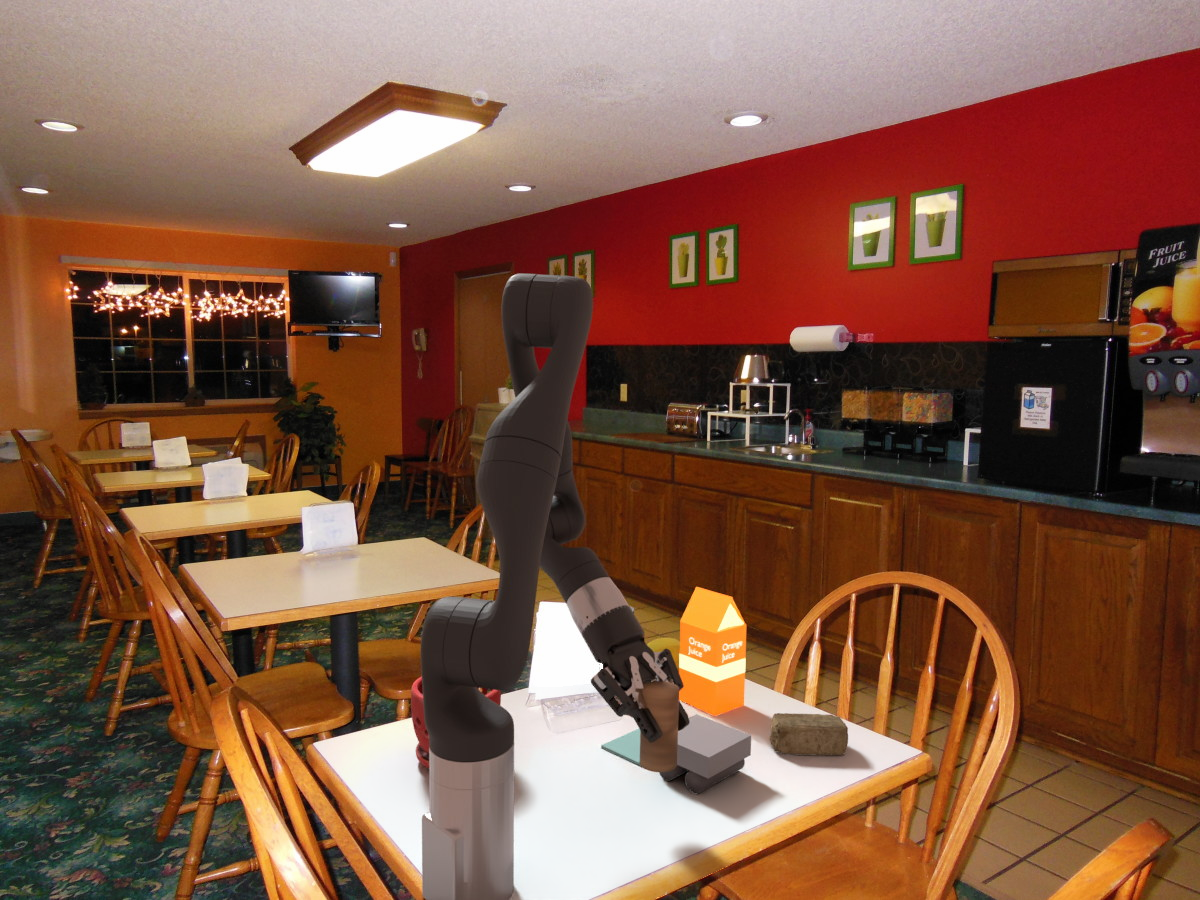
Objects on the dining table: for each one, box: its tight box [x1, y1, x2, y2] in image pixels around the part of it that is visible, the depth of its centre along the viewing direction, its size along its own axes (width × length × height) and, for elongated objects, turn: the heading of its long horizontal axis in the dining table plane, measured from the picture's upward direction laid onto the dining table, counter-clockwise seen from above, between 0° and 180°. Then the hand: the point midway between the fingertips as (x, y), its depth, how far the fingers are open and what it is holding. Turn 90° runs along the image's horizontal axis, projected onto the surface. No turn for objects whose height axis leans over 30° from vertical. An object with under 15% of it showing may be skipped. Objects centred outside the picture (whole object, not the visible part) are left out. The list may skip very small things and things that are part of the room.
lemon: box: [646, 637, 680, 681], centre depth 156 cm, size 11×8×8 cm
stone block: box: [769, 712, 849, 757], centre depth 128 cm, size 6×12×5 cm, turn 89°
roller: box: [639, 680, 680, 773], centre depth 106 cm, size 5×5×10 cm
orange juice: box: [679, 586, 747, 717], centre depth 145 cm, size 8×9×20 cm
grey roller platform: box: [658, 713, 752, 794], centre depth 119 cm, size 10×10×6 cm
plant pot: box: [410, 675, 502, 769], centre depth 123 cm, size 13×13×12 cm
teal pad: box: [600, 728, 641, 767], centre depth 128 cm, size 9×9×1 cm
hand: (670, 732), depth 104 cm, fingers closed on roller, 4 cm apart
